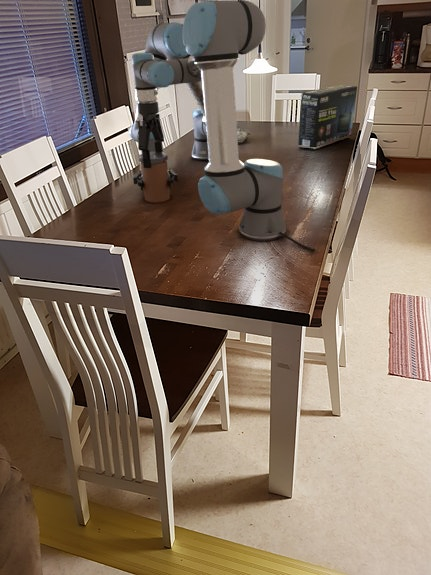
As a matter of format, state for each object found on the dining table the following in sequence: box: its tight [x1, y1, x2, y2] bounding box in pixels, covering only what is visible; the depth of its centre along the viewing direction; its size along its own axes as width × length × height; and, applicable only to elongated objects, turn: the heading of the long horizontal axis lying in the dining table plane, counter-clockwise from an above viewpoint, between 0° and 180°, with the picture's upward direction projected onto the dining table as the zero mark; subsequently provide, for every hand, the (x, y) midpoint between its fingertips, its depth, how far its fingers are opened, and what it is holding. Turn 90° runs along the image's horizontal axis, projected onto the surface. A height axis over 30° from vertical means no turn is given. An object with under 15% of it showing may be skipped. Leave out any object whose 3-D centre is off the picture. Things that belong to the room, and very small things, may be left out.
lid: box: [138, 151, 169, 164], centre depth 173 cm, size 11×11×2 cm
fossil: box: [237, 126, 251, 145], centre depth 256 cm, size 18×11×15 cm
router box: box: [297, 84, 358, 151], centre depth 238 cm, size 36×11×27 cm, turn 134°
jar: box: [139, 159, 171, 203], centre depth 177 cm, size 10×10×16 cm
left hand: (155, 185), depth 174 cm, fingers closed on jar, 10 cm apart
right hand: (153, 163), depth 174 cm, fingers closed on lid, 11 cm apart
